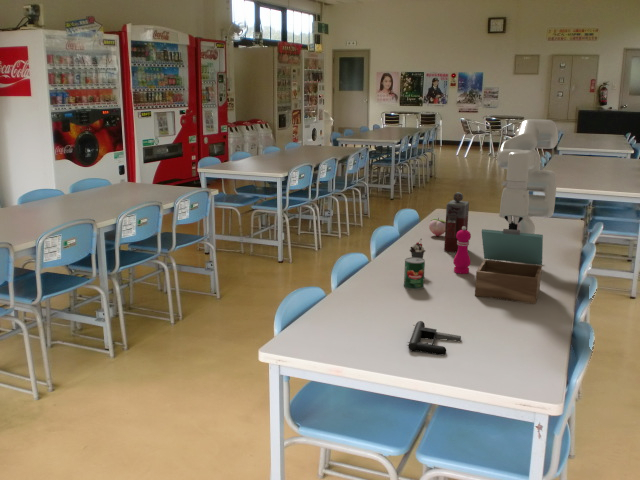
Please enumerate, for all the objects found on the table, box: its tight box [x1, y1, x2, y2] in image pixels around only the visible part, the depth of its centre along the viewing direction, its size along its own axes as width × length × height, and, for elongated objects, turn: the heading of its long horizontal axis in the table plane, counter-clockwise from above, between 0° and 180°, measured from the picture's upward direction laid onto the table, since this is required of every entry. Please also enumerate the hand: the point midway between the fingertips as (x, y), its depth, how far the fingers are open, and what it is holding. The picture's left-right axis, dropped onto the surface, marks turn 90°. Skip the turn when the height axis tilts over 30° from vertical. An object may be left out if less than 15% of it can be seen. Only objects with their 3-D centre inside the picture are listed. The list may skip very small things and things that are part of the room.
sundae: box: [409, 238, 426, 259], centre depth 270 cm, size 7×7×15 cm
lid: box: [481, 228, 544, 266], centre depth 246 cm, size 20×22×1 cm
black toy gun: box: [407, 320, 462, 355], centre depth 201 cm, size 3×20×16 cm
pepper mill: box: [453, 226, 472, 275], centre depth 272 cm, size 7×7×20 cm
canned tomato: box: [403, 256, 426, 291], centre depth 254 cm, size 8×8×11 cm
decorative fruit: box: [428, 217, 446, 237], centre depth 335 cm, size 9×8×10 cm
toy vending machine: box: [443, 191, 470, 253], centre depth 305 cm, size 9×11×28 cm
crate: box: [474, 258, 543, 305], centre depth 247 cm, size 18×22×10 cm
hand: (512, 233), depth 242 cm, fingers closed
